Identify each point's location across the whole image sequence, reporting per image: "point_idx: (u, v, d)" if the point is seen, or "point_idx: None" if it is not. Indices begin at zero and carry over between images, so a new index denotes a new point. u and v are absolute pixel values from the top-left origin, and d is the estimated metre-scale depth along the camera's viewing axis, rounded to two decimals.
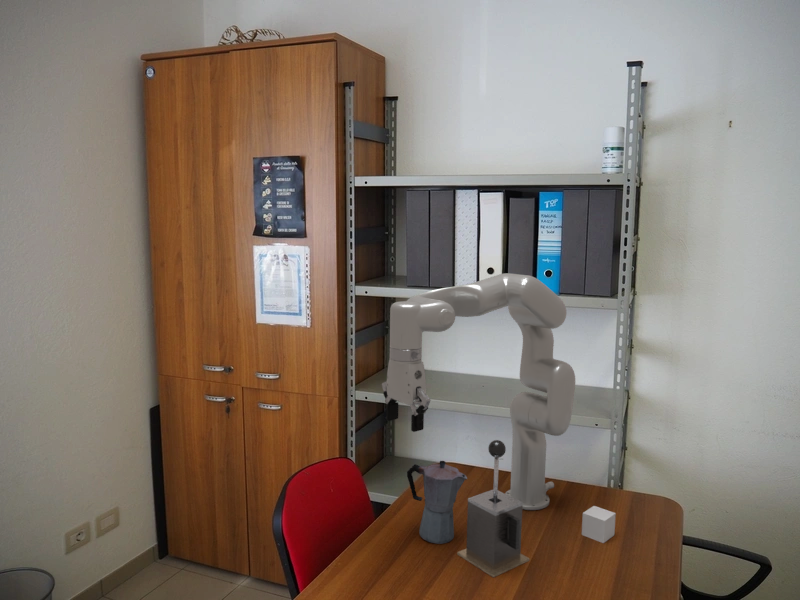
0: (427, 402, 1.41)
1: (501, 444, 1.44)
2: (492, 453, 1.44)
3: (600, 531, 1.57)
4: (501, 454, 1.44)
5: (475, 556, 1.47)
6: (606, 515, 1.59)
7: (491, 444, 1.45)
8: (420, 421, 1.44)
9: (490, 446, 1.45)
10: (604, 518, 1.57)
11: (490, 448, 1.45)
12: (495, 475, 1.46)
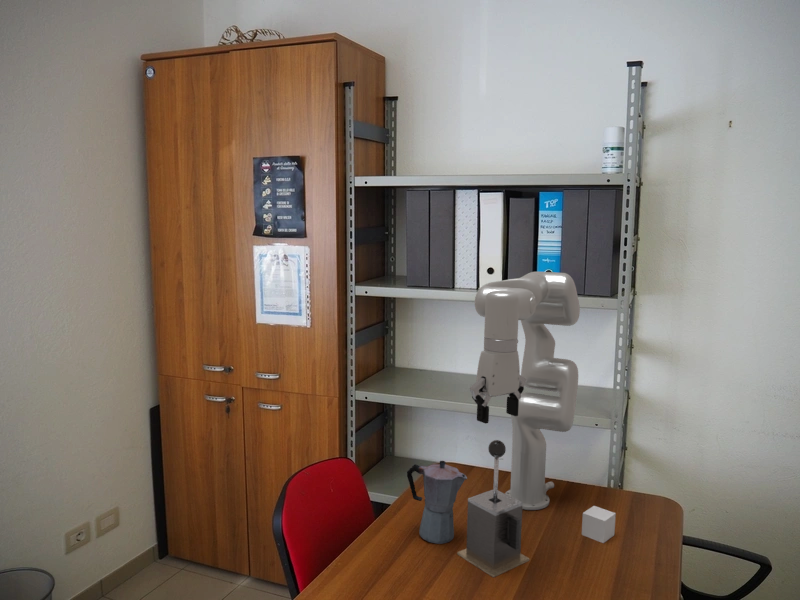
0: None
1: (501, 444, 1.44)
2: (492, 453, 1.44)
3: (600, 531, 1.57)
4: (501, 454, 1.44)
5: (475, 556, 1.47)
6: (606, 515, 1.59)
7: (491, 444, 1.45)
8: None
9: (490, 446, 1.45)
10: (604, 518, 1.57)
11: (490, 448, 1.45)
12: (495, 475, 1.46)
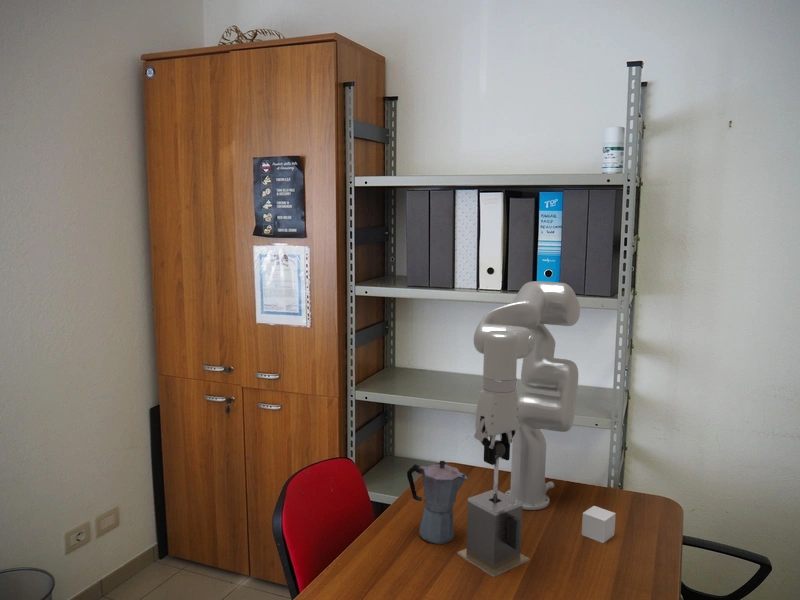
0: None
1: (501, 444, 1.44)
2: None
3: (600, 531, 1.57)
4: (501, 454, 1.44)
5: (475, 556, 1.47)
6: (606, 515, 1.59)
7: None
8: None
9: None
10: (604, 518, 1.57)
11: None
12: (495, 475, 1.46)
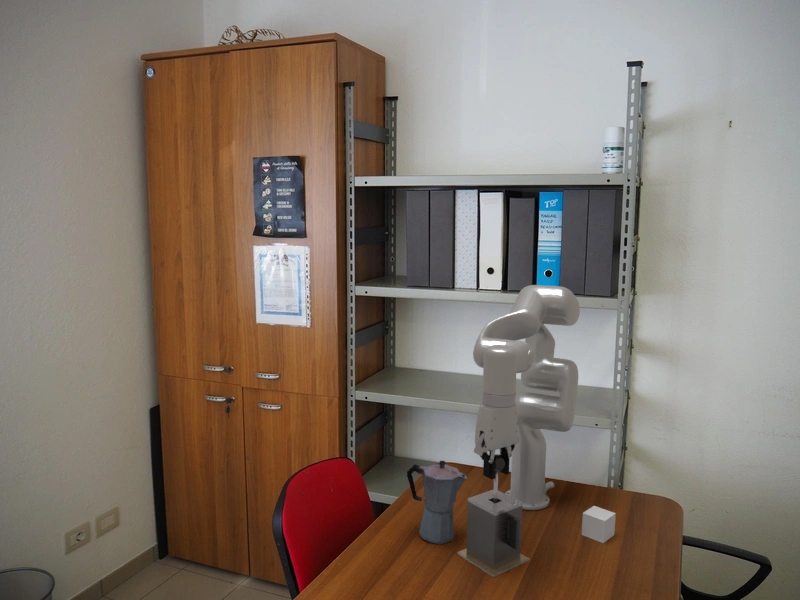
0: None
1: (500, 458, 1.45)
2: None
3: (600, 531, 1.57)
4: (500, 468, 1.45)
5: (475, 556, 1.47)
6: (606, 515, 1.59)
7: None
8: None
9: None
10: (604, 518, 1.57)
11: None
12: (494, 489, 1.47)
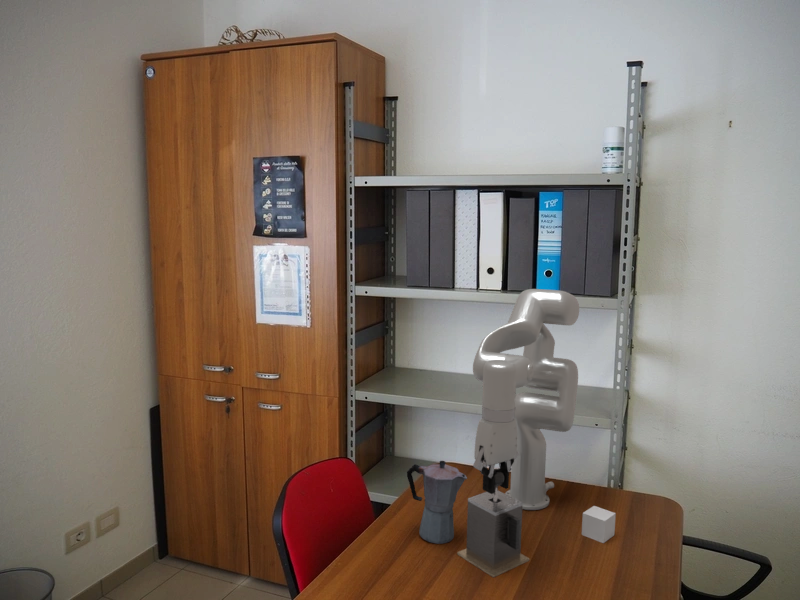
0: None
1: (500, 473, 1.45)
2: None
3: (600, 531, 1.57)
4: (500, 483, 1.45)
5: (475, 556, 1.47)
6: (606, 515, 1.59)
7: None
8: None
9: None
10: (604, 518, 1.57)
11: None
12: None
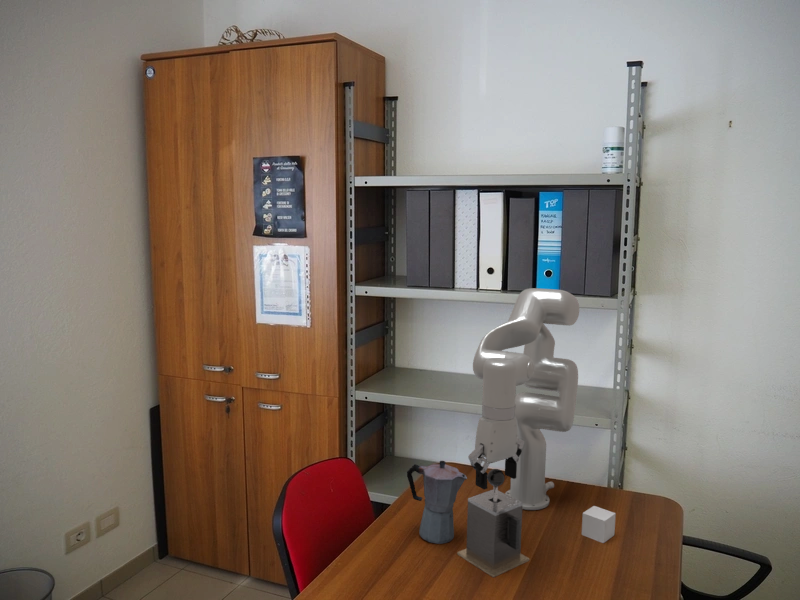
0: None
1: (500, 473, 1.45)
2: (491, 482, 1.45)
3: (600, 531, 1.57)
4: (500, 483, 1.45)
5: (475, 556, 1.47)
6: (606, 515, 1.59)
7: (490, 473, 1.46)
8: None
9: (489, 475, 1.46)
10: (604, 518, 1.57)
11: (489, 477, 1.46)
12: None
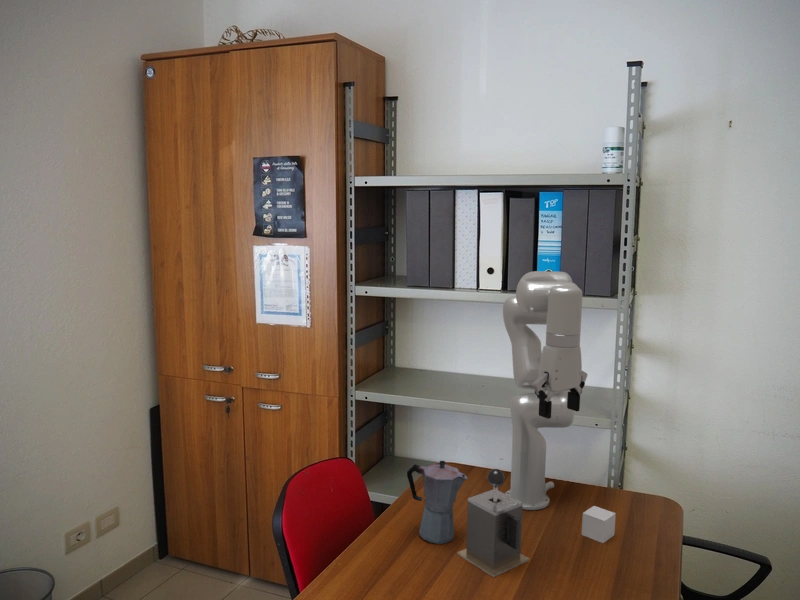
0: None
1: (500, 473, 1.45)
2: (491, 482, 1.45)
3: (600, 531, 1.57)
4: (500, 483, 1.45)
5: (475, 556, 1.47)
6: (606, 515, 1.59)
7: (490, 473, 1.46)
8: None
9: (489, 475, 1.46)
10: (604, 518, 1.57)
11: (489, 477, 1.46)
12: None
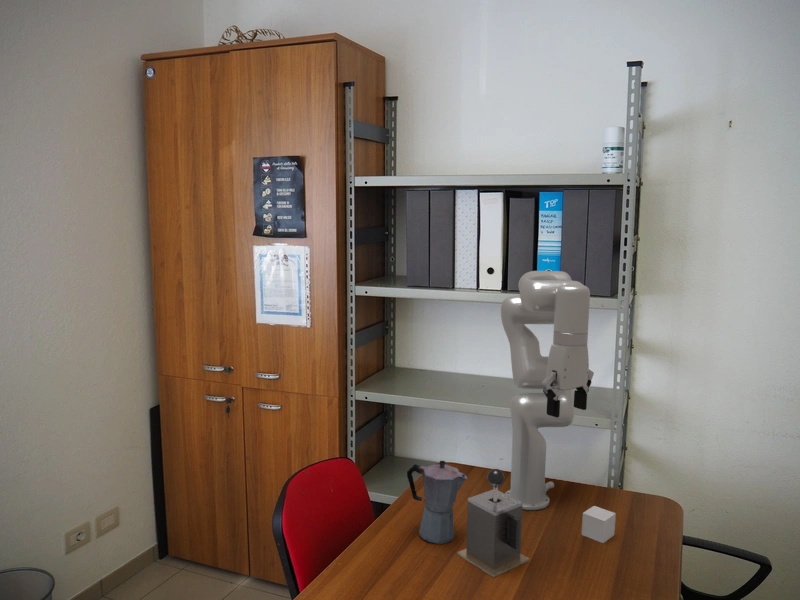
0: None
1: (500, 473, 1.45)
2: (491, 482, 1.45)
3: (600, 531, 1.57)
4: (500, 483, 1.45)
5: (475, 556, 1.47)
6: (606, 515, 1.59)
7: (490, 473, 1.46)
8: None
9: (489, 475, 1.46)
10: (604, 518, 1.57)
11: (489, 477, 1.46)
12: None
